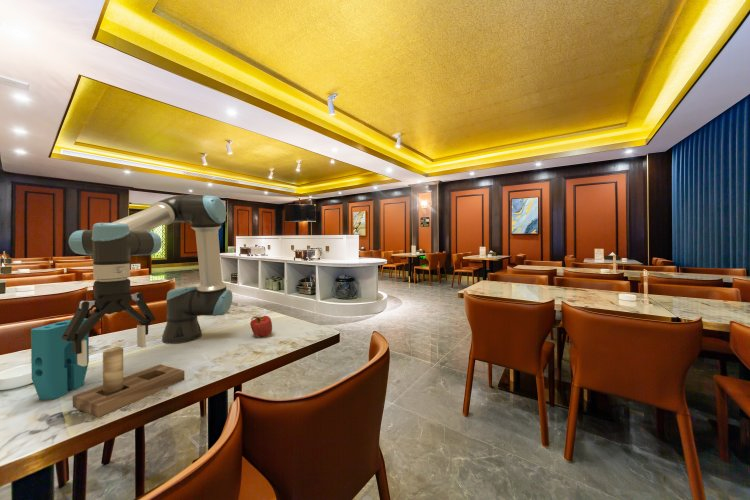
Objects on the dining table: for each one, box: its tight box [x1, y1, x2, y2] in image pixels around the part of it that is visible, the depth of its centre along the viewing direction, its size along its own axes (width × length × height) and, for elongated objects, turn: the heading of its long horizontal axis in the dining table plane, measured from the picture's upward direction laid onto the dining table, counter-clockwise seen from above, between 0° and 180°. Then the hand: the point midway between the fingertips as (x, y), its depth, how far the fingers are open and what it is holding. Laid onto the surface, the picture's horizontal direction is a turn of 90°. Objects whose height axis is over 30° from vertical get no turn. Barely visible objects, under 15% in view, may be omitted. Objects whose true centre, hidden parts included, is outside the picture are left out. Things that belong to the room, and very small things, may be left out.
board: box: [72, 363, 185, 418], centre depth 86 cm, size 12×22×3 cm, turn 158°
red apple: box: [249, 315, 273, 338], centre depth 138 cm, size 11×10×10 cm
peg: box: [102, 347, 124, 396], centre depth 81 cm, size 4×4×14 cm
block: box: [30, 317, 90, 401], centre depth 85 cm, size 12×5×20 cm, turn 1°
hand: (114, 355), depth 81 cm, fingers open, 13 cm apart
